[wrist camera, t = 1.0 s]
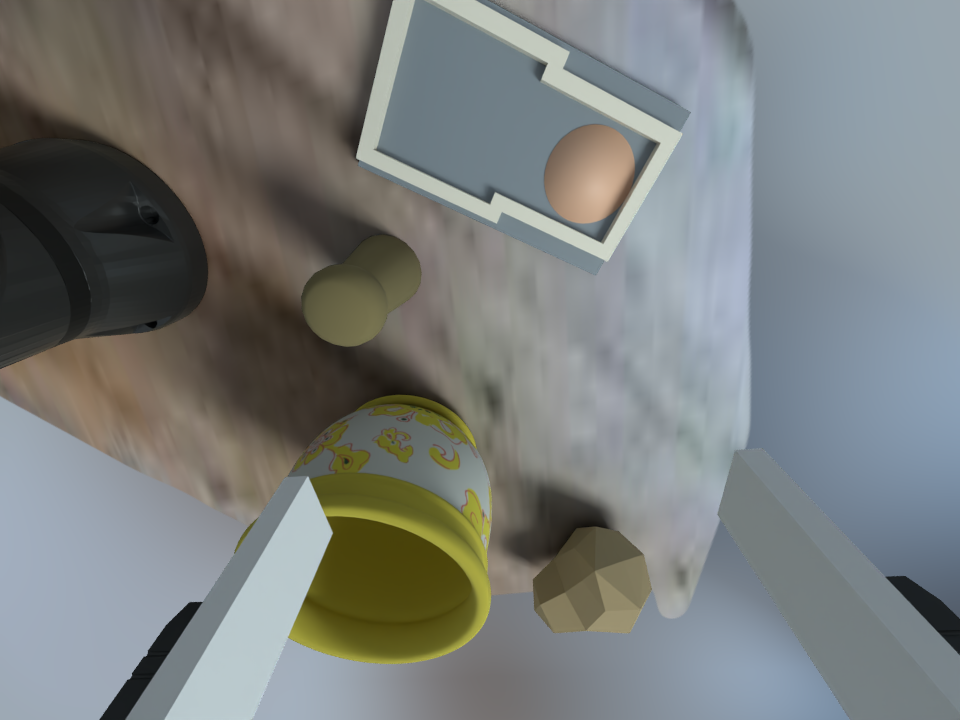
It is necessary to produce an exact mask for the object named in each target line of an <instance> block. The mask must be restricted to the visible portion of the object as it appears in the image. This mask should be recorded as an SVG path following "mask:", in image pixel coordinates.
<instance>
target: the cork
mask: <svg viewBox="0 0 960 720" xmlns="http://www.w3.org/2000/svg"><path fill="white" fill-rule="evenodd" d="M420 282H421V268H420V262H419V260H418V258H417V256H416V254H415V253H414V251H413V250H412V249H411V248H410V247H409V246H408V245H407V244H406V243H405V242H403V241H401V240H400V239H398V238H396V237H393V236H388V235H376V236H371V237H369V238H368V239H366V240H364V241H362V242H361V244H360V245H359V246H358V247H357V248H356V249H355V250H354V251H353V253H352V254H351V255H350V256H349V257H348V258H347V259H346V260H345V262H344V263H343V264H338V265H330V266H328V267H326V268H324V269H322V270H320V271H318V272H316V273H315V274H314V275H313V276H312V277H311V278H310V279H309V281H308V282H307V283H306V285H305V287H304V290H303V293H302V296H301V301H302V311H303V314H304V317H305V320H306V322H307V324H308V325H309V326H310V328H311V329H312V331H313V332H314V333H316V334H317V335H318V336H319V337H320V338H322V339H323V340H325V341H327V342H330V343H332V344H335V345H340V346H345V347H349V346H358V345H361V344H363V343H365V342H367V341H370V340H372V339H373V338H374V337H375V336H376V335H377V334H378V333H379V332H380V331H381V329H382V328H383V326H384V323H385V321H386V319H387V314H388V313H390V312H391V311H393V310H394V309H396V308H397V307H399V306H400V305H402V304H403V303H405V302H406V301H408V300H409V299H410V298H411V297H412V296H413V295H414V294H415V293H416V291H417V289H418V287H419V285H420Z"/></svg>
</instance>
